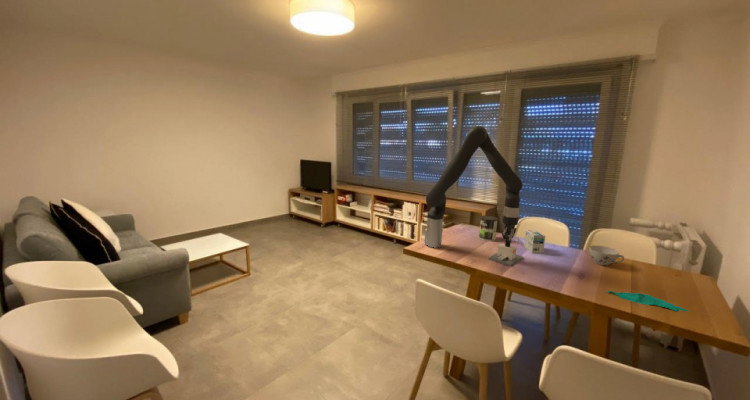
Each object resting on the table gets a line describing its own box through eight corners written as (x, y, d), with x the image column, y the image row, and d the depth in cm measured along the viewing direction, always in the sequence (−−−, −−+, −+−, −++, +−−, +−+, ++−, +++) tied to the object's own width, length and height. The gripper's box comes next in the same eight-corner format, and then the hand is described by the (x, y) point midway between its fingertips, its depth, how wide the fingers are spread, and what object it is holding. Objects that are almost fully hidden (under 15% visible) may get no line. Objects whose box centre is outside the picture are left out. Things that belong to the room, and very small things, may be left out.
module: (497, 255, 170) (498, 245, 169) (500, 253, 173) (502, 243, 172) (511, 260, 164) (513, 249, 163) (515, 258, 167) (516, 247, 166)
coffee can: (485, 241, 196) (487, 220, 193) (475, 236, 205) (477, 215, 203) (499, 240, 199) (501, 219, 196) (488, 235, 209) (490, 215, 206)
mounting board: (488, 259, 168) (488, 257, 168) (502, 252, 179) (502, 250, 178) (510, 266, 159) (510, 264, 159) (523, 258, 170) (523, 256, 170)
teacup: (585, 263, 165) (588, 249, 163) (588, 257, 174) (590, 243, 172) (621, 272, 155) (624, 257, 154) (622, 264, 165) (625, 250, 163)
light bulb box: (543, 253, 178) (546, 235, 176) (531, 253, 178) (534, 235, 176) (534, 247, 188) (536, 229, 186) (523, 246, 189) (525, 229, 186)
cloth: (690, 308, 124) (691, 303, 124) (690, 322, 115) (691, 316, 114) (610, 285, 142) (611, 280, 142) (604, 295, 133) (605, 291, 132)
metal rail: (497, 259, 165) (497, 257, 165) (509, 253, 174) (509, 251, 174) (502, 261, 163) (502, 259, 163) (514, 254, 172) (514, 252, 172)
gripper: (509, 211, 171) (506, 242, 175) (498, 215, 162) (494, 247, 166) (523, 214, 166) (519, 245, 169) (512, 218, 157) (508, 251, 160)
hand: (507, 246), depth 167 cm, fingers closed
